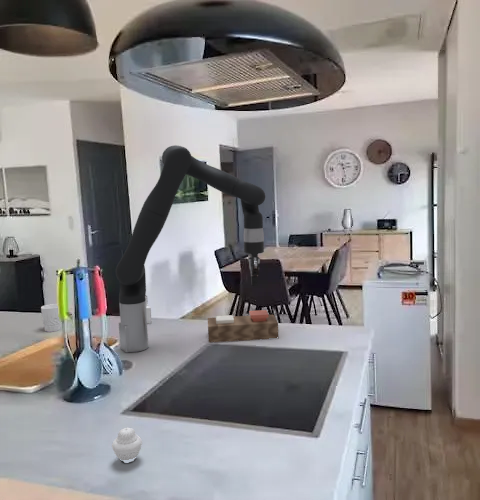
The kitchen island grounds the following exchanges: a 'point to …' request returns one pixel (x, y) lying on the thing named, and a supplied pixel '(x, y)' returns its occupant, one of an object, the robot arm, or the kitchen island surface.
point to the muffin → (127, 444)
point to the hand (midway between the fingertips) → (254, 285)
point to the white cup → (50, 317)
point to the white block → (224, 319)
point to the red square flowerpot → (258, 315)
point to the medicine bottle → (148, 312)
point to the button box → (242, 329)
